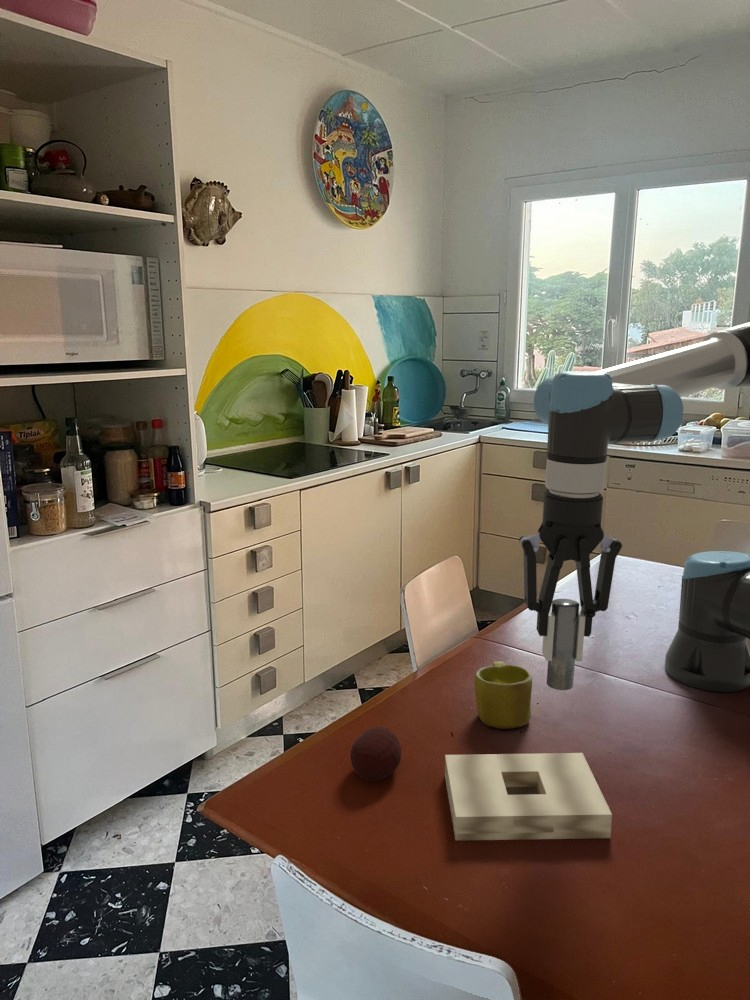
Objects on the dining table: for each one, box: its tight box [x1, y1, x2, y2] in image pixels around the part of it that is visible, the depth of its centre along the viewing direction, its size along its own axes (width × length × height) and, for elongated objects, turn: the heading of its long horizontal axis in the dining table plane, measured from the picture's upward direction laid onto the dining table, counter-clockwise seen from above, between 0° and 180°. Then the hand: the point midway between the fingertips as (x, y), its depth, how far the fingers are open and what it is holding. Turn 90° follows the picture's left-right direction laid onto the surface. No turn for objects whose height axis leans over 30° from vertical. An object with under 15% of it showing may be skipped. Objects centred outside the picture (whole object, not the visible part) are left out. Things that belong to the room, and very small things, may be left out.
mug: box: [474, 660, 533, 730], centre depth 128 cm, size 12×10×10 cm
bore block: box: [444, 752, 613, 842], centre depth 105 cm, size 20×14×4 cm
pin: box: [546, 598, 580, 691], centre depth 106 cm, size 4×4×12 cm
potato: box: [350, 726, 402, 782], centre depth 113 cm, size 7×10×6 cm
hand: (561, 656), depth 106 cm, fingers closed on pin, 3 cm apart
